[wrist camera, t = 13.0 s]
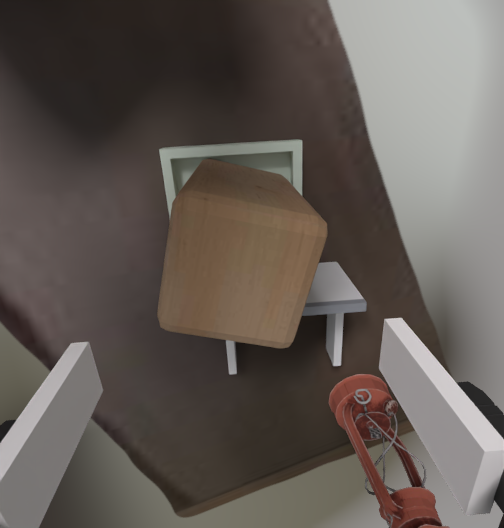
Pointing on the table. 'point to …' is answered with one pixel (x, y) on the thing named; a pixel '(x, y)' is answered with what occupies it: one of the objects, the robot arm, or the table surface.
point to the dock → (324, 308)
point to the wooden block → (239, 256)
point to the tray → (231, 161)
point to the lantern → (374, 427)
